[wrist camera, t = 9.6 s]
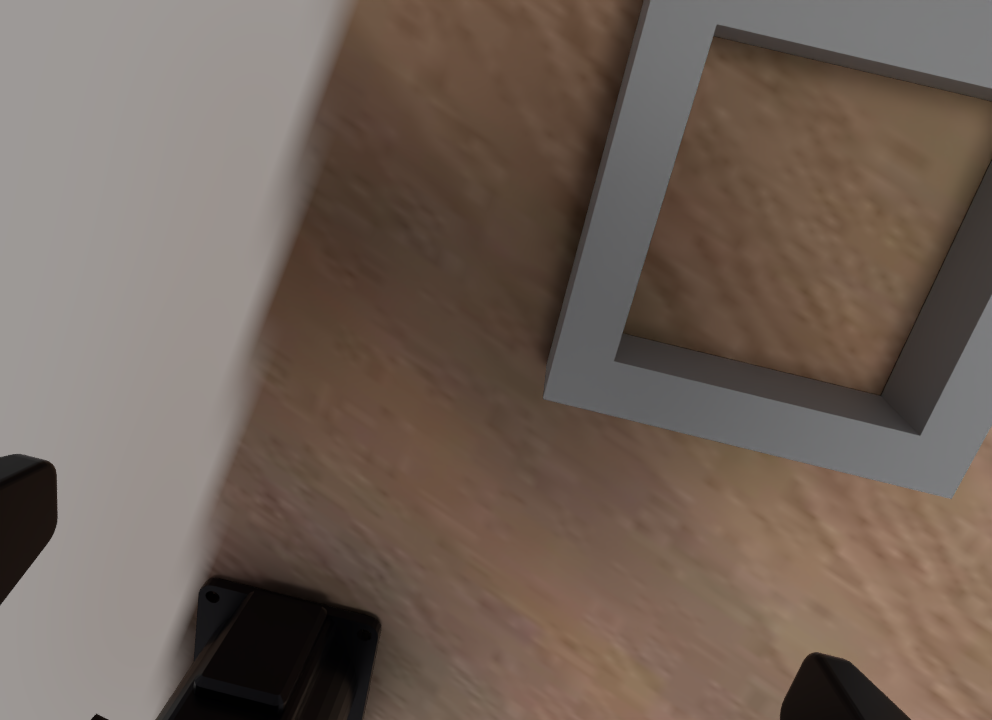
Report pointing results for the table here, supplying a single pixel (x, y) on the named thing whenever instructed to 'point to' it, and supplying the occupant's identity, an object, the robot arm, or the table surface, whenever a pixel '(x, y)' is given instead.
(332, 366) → the table surface
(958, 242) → the dock board
